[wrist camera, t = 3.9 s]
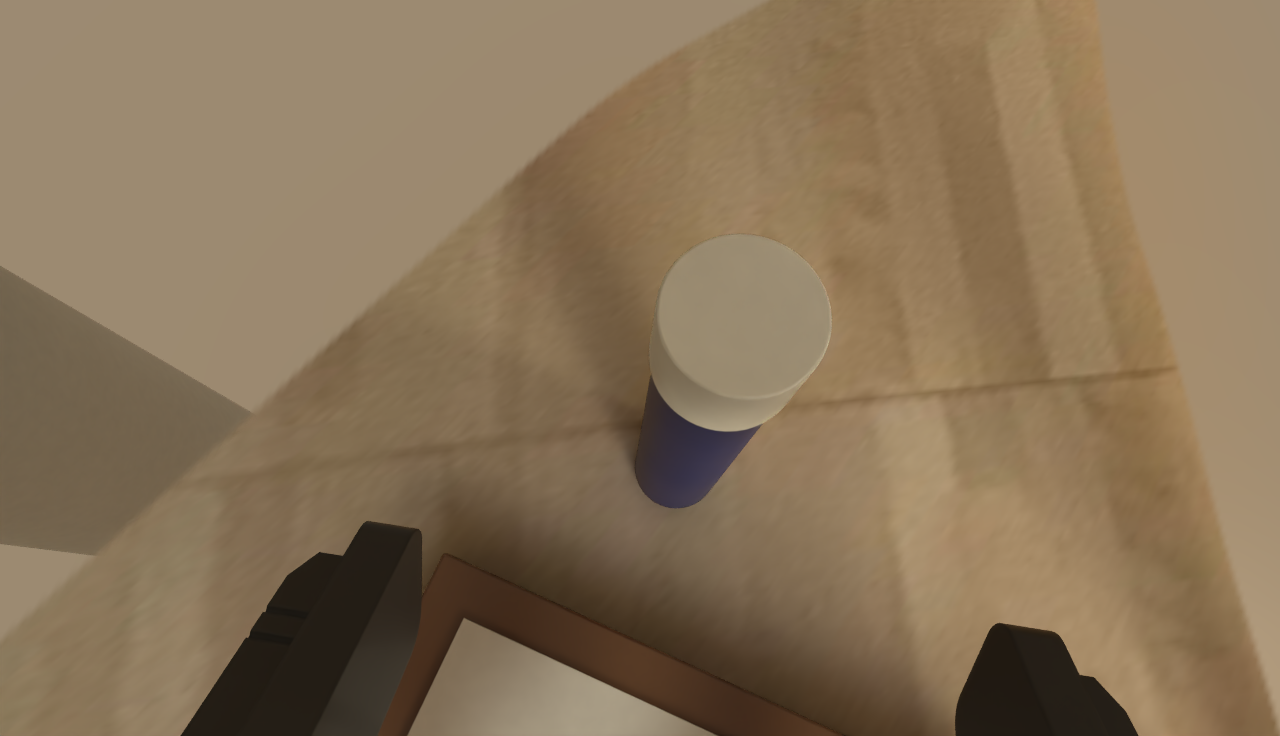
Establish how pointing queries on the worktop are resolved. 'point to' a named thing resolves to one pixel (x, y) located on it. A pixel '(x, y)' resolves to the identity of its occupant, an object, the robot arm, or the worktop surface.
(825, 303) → the cylinder
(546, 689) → the picture frame
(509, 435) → the worktop surface
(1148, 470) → the worktop surface
